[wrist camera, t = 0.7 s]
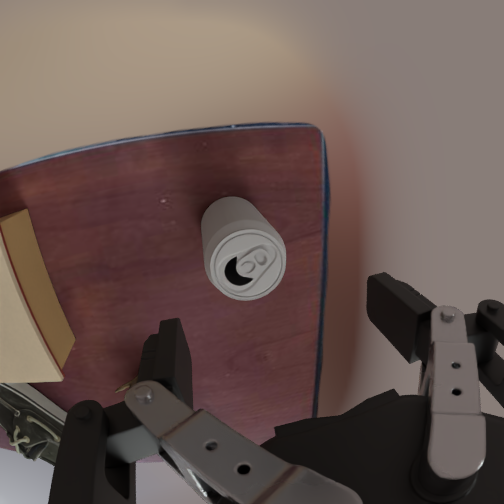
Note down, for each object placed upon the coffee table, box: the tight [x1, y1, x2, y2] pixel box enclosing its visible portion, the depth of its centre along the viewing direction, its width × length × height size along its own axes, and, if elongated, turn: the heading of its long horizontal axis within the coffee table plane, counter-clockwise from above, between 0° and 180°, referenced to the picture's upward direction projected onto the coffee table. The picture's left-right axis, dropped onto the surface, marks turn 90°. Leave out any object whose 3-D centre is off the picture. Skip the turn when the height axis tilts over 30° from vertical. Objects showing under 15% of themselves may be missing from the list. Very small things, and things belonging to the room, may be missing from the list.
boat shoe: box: [0, 383, 67, 466], centre depth 35 cm, size 11×31×10 cm, turn 50°
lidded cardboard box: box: [0, 209, 76, 383], centre depth 28 cm, size 19×13×8 cm
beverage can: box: [201, 197, 286, 300], centre depth 29 cm, size 6×6×12 cm
